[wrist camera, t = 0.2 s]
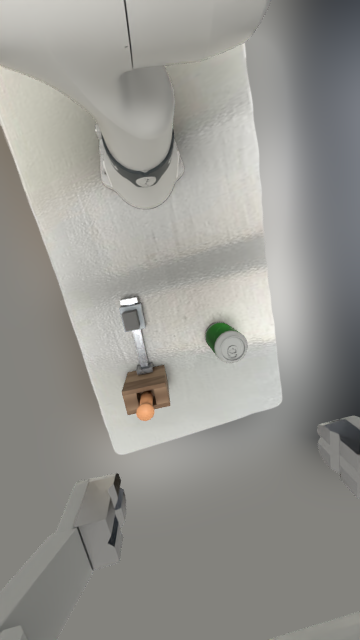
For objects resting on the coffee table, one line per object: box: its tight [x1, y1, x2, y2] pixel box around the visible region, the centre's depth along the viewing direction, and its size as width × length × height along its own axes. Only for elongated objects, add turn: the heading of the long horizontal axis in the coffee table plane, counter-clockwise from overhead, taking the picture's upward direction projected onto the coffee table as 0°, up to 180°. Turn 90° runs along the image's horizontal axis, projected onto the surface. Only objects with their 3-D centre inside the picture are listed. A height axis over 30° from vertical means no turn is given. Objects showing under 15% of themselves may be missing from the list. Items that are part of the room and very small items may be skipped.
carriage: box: [119, 303, 146, 332], centre depth 50 cm, size 6×5×8 cm
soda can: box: [205, 322, 248, 363], centre depth 51 cm, size 8×8×12 cm
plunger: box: [136, 391, 154, 421], centre depth 46 cm, size 4×4×6 cm
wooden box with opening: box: [122, 365, 170, 415], centre depth 53 cm, size 6×10×10 cm, turn 100°
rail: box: [120, 296, 153, 375], centre depth 53 cm, size 19×4×4 cm, turn 10°
